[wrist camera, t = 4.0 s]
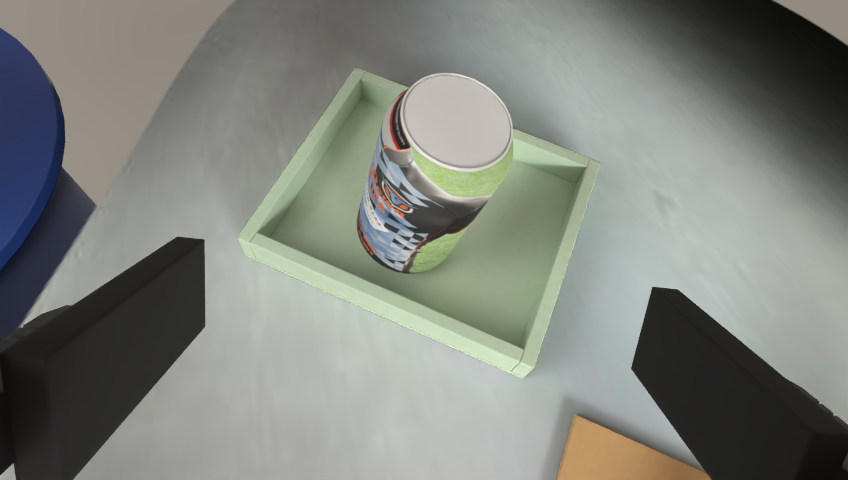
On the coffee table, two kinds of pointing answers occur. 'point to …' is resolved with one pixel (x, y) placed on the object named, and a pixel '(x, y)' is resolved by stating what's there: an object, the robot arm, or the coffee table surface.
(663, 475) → the coaster
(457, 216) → the beverage can
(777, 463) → the robot arm
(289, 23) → the coffee table surface
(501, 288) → the tray
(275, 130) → the coffee table surface
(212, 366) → the coffee table surface
